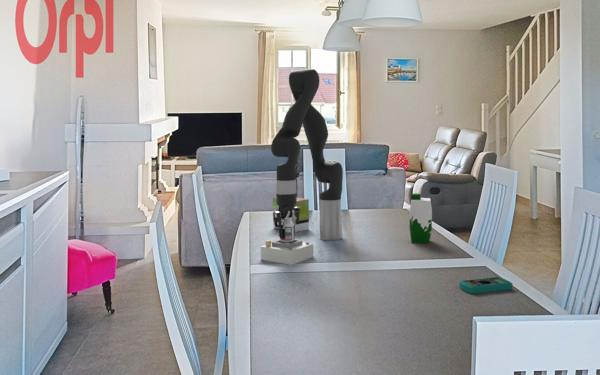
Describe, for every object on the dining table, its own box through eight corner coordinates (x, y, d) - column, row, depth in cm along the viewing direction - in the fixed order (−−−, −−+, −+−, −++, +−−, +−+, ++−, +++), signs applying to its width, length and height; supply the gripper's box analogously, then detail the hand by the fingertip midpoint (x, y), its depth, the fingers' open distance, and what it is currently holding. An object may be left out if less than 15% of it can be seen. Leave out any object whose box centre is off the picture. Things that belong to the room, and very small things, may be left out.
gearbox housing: (283, 252, 229) (283, 234, 228) (313, 256, 221) (313, 238, 220) (261, 259, 217) (260, 241, 216) (291, 264, 209) (291, 245, 208)
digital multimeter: (457, 289, 180) (457, 279, 180) (498, 284, 184) (499, 275, 184) (470, 296, 173) (470, 286, 173) (513, 291, 177) (513, 281, 177)
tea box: (272, 228, 277) (271, 197, 275) (288, 225, 283) (287, 195, 282) (293, 233, 266) (293, 200, 264) (309, 229, 272) (309, 198, 271)
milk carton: (409, 239, 250) (410, 192, 247) (431, 239, 248) (432, 192, 245) (409, 243, 241) (409, 195, 239) (431, 244, 239) (432, 195, 237)
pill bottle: (285, 238, 222) (285, 215, 221) (297, 240, 219) (296, 216, 218) (277, 241, 218) (277, 217, 216) (288, 242, 215) (288, 219, 213)
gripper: (289, 189, 224) (290, 232, 226) (266, 193, 212) (267, 239, 214) (305, 190, 219) (306, 234, 222) (282, 195, 208) (283, 241, 210)
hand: (287, 236), depth 218 cm, fingers closed on pill bottle, 5 cm apart
